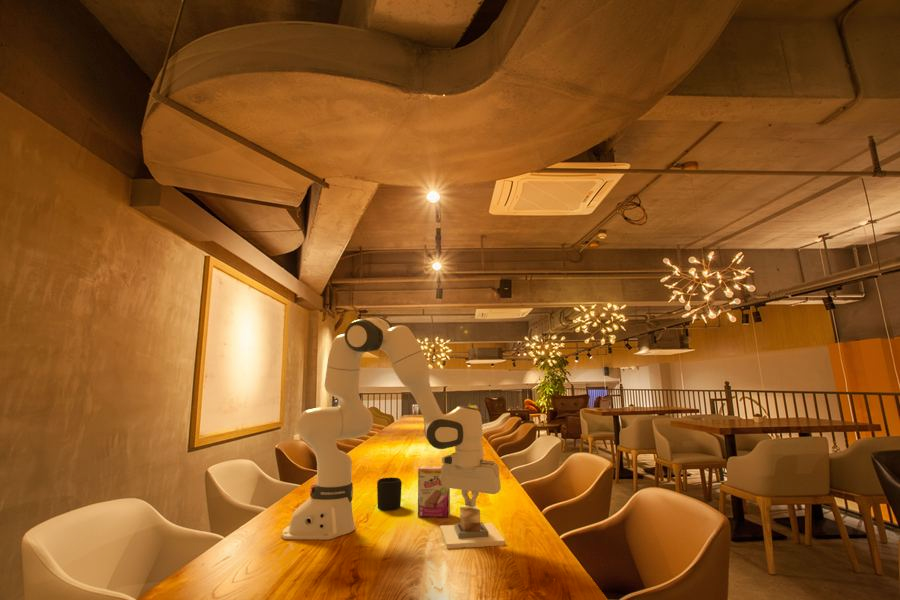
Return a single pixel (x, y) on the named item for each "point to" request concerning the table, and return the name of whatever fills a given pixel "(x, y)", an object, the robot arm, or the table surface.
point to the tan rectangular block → (469, 519)
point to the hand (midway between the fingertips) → (470, 505)
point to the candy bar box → (432, 494)
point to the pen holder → (389, 493)
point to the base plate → (471, 536)
